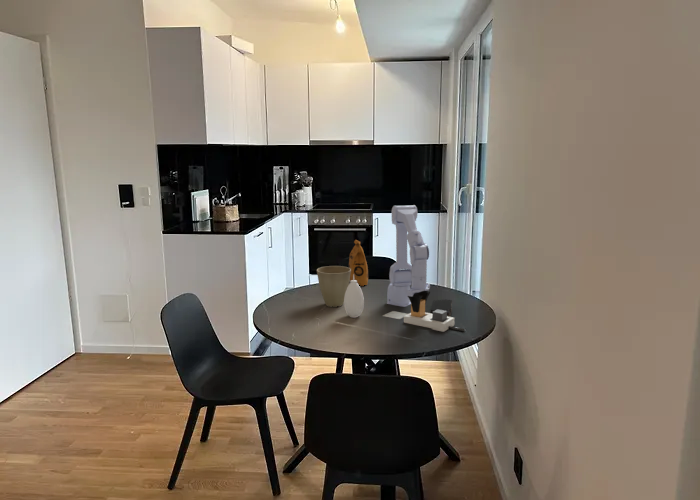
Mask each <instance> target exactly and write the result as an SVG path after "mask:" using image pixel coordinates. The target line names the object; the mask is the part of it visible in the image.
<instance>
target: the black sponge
mask: <svg viewBox="0 0 700 500" xmlns="http://www.w3.org/2000/svg"><path fill="white" fill-rule="evenodd" d="M437 309H438V310H443V311H447V316H448V317H451V316H452V309H453V300H452V299H436V300H435V299H434V300H433V301H432V304H431V308H430V312H429V313H431V314H433V311H435V310H437Z"/></svg>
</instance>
